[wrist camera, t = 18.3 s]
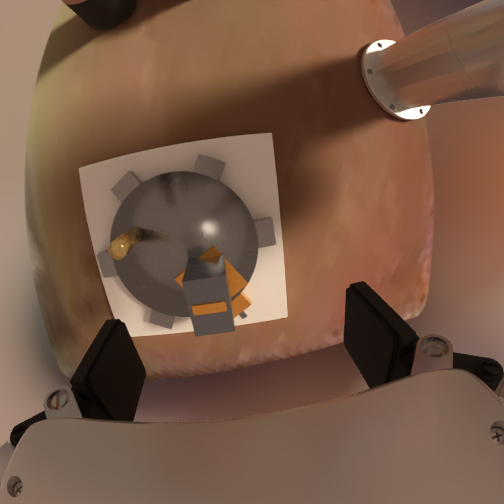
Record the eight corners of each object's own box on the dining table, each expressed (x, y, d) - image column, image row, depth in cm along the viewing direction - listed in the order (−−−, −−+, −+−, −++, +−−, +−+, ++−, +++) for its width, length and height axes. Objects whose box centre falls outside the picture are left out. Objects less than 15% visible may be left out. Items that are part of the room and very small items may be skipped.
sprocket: (131, 134, 26) (107, 125, 19) (295, 189, 30) (317, 196, 23) (93, 296, 31) (70, 325, 24) (233, 340, 35) (237, 377, 28)
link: (223, 254, 30) (225, 276, 24) (231, 302, 32) (235, 332, 26) (188, 260, 29) (181, 282, 24) (198, 307, 31) (195, 337, 25)
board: (270, 133, 29) (272, 132, 28) (285, 313, 36) (287, 317, 35) (82, 167, 27) (78, 168, 26) (123, 333, 34) (121, 337, 33)
